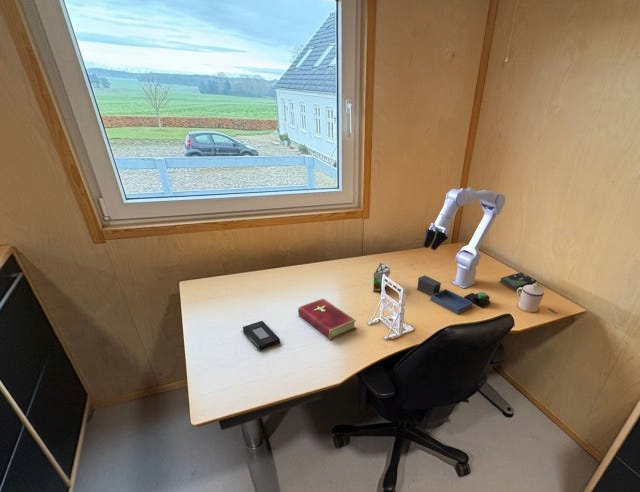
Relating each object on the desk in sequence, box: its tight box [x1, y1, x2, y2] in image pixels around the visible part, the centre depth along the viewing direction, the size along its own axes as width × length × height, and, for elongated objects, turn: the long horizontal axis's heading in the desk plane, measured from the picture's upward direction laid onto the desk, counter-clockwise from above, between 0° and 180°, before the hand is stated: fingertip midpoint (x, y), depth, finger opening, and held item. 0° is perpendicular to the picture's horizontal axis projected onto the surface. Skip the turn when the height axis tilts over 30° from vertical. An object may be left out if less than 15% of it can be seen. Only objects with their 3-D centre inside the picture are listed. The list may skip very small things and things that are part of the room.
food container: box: [373, 262, 391, 293], centre depth 164 cm, size 12×6×10 cm, turn 168°
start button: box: [478, 291, 488, 299], centre depth 158 cm, size 4×4×2 cm
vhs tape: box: [242, 320, 281, 352], centre depth 128 cm, size 8×14×2 cm, turn 40°
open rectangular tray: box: [430, 288, 474, 315], centre depth 158 cm, size 10×15×2 cm
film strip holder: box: [367, 274, 415, 341], centre depth 135 cm, size 14×14×20 cm
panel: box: [463, 292, 492, 309], centre depth 160 cm, size 6×10×4 cm, turn 43°
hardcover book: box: [297, 298, 357, 341], centre depth 139 cm, size 12×21×4 cm, turn 43°
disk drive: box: [499, 272, 537, 291], centre depth 179 cm, size 10×3×15 cm
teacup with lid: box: [516, 283, 545, 313], centre depth 157 cm, size 12×9×12 cm
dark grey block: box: [416, 275, 442, 297], centre depth 165 cm, size 5×10×6 cm, turn 43°
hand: (428, 248), depth 148 cm, fingers open, 7 cm apart
